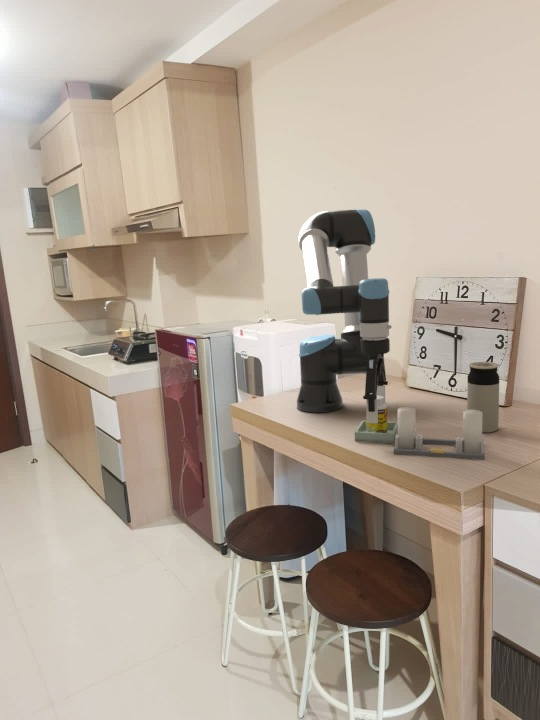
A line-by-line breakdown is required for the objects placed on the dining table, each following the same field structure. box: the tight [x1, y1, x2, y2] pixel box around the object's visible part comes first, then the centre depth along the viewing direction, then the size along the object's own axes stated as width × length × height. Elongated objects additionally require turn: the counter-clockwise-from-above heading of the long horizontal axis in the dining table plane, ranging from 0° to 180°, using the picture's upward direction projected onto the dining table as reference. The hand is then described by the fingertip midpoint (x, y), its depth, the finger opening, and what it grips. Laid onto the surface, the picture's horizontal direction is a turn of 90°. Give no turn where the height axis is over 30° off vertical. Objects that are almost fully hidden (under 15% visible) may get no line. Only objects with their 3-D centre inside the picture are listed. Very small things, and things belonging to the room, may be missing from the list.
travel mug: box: [466, 361, 500, 434], centre depth 148 cm, size 8×8×18 cm
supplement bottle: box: [365, 396, 388, 433], centre depth 148 cm, size 6×6×10 cm
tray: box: [354, 420, 398, 444], centre depth 148 cm, size 10×10×2 cm
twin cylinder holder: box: [392, 406, 485, 461], centre depth 135 cm, size 21×10×10 cm, turn 70°
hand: (376, 415), depth 147 cm, fingers open, 13 cm apart
